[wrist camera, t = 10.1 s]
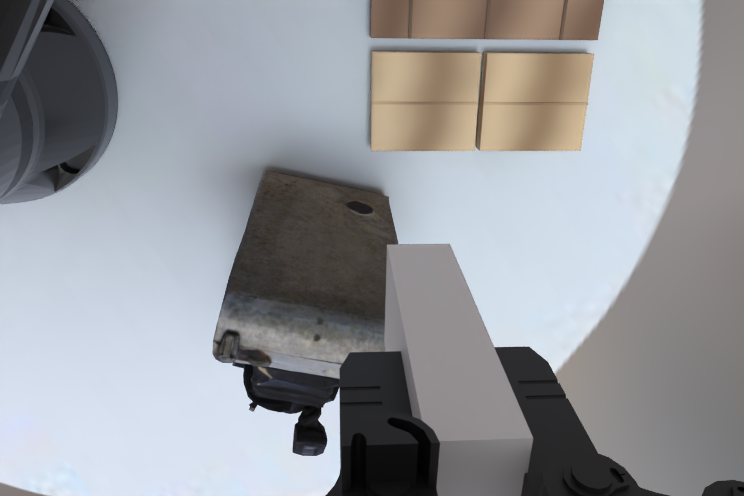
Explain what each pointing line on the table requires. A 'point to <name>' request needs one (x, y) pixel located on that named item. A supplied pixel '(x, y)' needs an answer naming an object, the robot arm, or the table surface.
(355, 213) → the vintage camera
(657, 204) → the table surface
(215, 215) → the table surface
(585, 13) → the walnut row
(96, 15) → the table surface
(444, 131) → the oak plank
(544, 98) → the oak plank
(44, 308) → the table surface
